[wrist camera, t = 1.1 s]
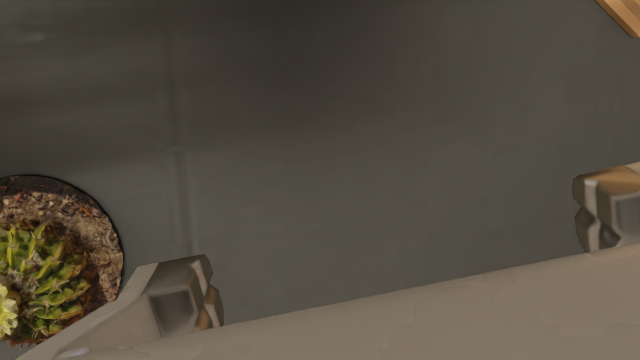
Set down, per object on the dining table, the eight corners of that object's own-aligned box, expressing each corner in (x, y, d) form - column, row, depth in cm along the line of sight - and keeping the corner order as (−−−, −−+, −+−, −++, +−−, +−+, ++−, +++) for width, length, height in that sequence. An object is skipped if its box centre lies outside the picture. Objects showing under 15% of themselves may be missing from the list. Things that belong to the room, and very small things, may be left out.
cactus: (-17, 141, 49) (-93, 176, 40) (154, 221, 52) (120, 272, 43) (-75, 297, 54) (-155, 361, 44) (85, 363, 56) (41, 436, 47)
